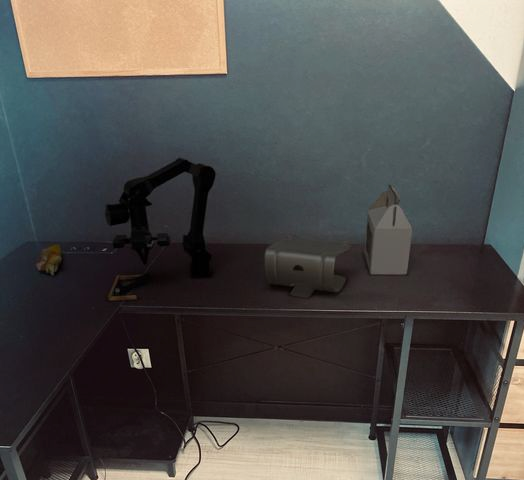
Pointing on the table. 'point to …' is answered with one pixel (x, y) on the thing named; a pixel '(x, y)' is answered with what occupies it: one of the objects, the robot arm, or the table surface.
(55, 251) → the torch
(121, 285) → the electric trimmer
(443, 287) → the table surface
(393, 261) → the gable box
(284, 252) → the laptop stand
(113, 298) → the dock
